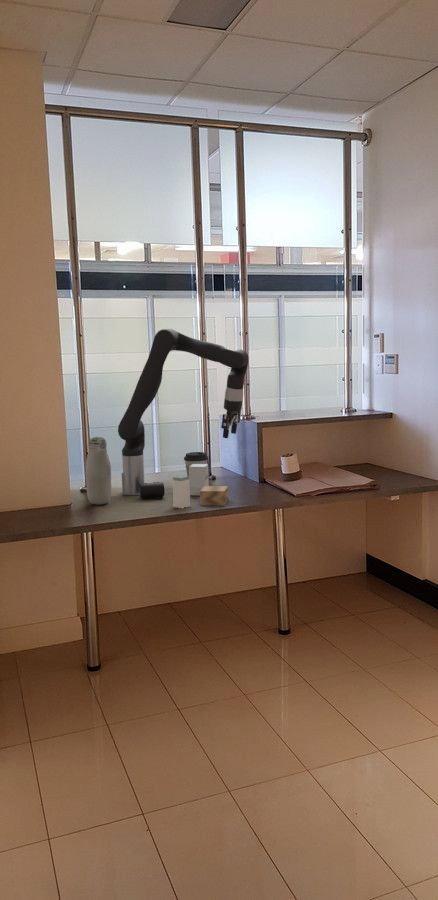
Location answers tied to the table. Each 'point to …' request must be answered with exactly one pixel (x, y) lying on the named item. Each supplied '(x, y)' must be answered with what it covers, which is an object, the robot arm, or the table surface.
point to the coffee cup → (195, 459)
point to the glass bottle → (98, 472)
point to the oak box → (214, 495)
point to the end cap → (151, 490)
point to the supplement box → (198, 478)
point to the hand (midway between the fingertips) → (229, 435)
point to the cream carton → (181, 491)
